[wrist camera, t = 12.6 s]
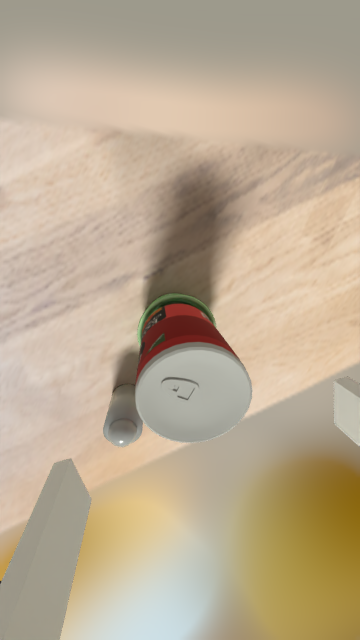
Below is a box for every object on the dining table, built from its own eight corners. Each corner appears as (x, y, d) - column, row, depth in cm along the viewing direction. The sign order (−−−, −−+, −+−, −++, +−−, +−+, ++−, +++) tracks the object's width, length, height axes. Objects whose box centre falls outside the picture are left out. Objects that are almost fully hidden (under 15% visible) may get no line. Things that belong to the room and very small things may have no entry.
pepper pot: (117, 414, 32) (107, 463, 25) (107, 389, 31) (93, 432, 23) (147, 406, 32) (146, 451, 25) (138, 380, 31) (135, 420, 24)
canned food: (147, 295, 23) (143, 337, 13) (220, 308, 24) (269, 355, 14) (136, 360, 25) (126, 441, 15) (203, 368, 27) (236, 447, 16)
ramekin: (218, 305, 29) (230, 313, 25) (189, 362, 31) (196, 379, 27) (155, 277, 27) (156, 281, 23) (128, 340, 29) (125, 355, 25)
